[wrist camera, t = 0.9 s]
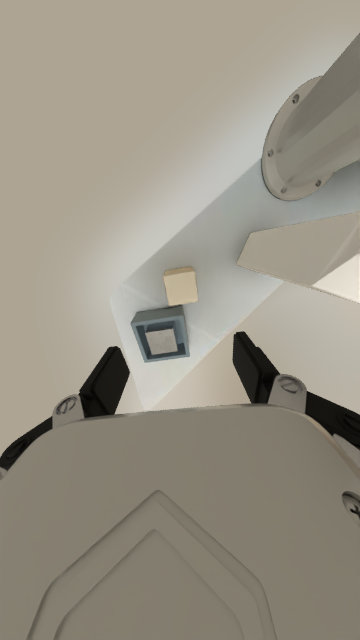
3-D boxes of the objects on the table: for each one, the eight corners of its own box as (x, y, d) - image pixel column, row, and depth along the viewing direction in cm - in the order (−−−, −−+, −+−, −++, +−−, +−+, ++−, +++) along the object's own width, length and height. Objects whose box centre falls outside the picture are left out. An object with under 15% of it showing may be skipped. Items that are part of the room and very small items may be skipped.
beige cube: (191, 266, 30) (194, 271, 24) (194, 291, 32) (198, 301, 27) (165, 270, 30) (162, 276, 24) (170, 295, 33) (169, 306, 27)
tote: (182, 305, 34) (182, 315, 29) (188, 342, 39) (189, 356, 34) (137, 312, 34) (130, 323, 29) (148, 348, 39) (144, 362, 34)
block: (173, 318, 34) (172, 328, 30) (177, 338, 37) (177, 351, 32) (149, 321, 34) (145, 332, 30) (155, 341, 37) (152, 354, 33)
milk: (250, 232, 27) (438, 190, 8) (277, 243, 28) (508, 230, 8) (235, 264, 30) (348, 296, 10) (260, 273, 31) (408, 318, 11)
